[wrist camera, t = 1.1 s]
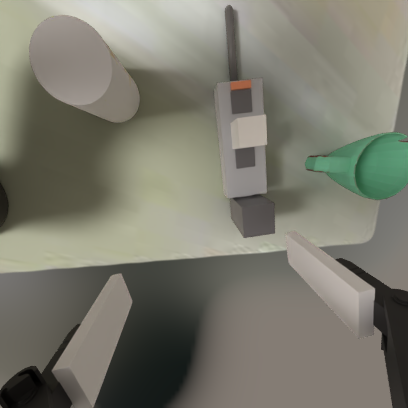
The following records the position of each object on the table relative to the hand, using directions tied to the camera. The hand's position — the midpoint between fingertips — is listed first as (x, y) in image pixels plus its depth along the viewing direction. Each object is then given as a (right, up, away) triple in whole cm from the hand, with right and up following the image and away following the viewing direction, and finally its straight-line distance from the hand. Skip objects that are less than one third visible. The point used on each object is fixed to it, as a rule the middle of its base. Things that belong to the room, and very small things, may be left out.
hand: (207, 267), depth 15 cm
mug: (+23, +13, +23) cm, 35 cm away
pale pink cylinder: (-15, +23, +17) cm, 32 cm away
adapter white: (+6, +16, +16) cm, 23 cm away
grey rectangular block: (+7, +6, +23) cm, 25 cm away
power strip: (+5, +21, +19) cm, 29 cm away
